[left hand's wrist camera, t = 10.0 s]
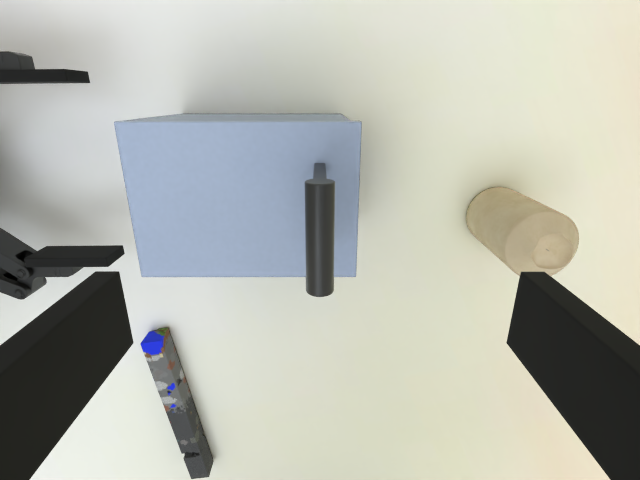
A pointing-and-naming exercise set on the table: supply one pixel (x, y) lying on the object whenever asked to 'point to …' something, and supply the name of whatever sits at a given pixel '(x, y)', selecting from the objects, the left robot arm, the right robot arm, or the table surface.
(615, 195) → the table surface
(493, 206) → the candle
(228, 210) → the lid
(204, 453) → the pillar
